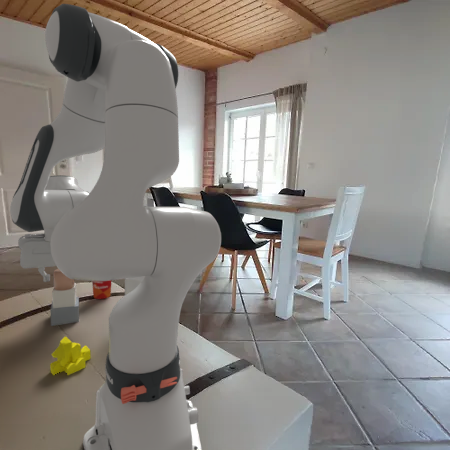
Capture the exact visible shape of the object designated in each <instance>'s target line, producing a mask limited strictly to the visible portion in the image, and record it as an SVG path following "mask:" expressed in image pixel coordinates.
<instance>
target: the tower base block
mask: <svg viewBox="0 0 450 450" xmlns="http://www.w3.org/2000/svg"><path fill="white" fill-rule="evenodd" d="M49 311H50V326H51V327H54V326H60V325H66V324H73V323H79V321H80V297H79V296H76V303H75V306H71V307H61V308H53V299H52V301H51V305H50V309H49Z"/></svg>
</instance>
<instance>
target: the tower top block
mask: <svg viewBox="0 0 450 450" xmlns="http://www.w3.org/2000/svg"><path fill="white" fill-rule="evenodd" d="M52 289H53V290H52V293H51V294H52V295H51V296H52V298H51V299H52V300H53V308H61V307H71V306H75V303H76V297H77V283H76V282H74V287H73V288H71V289H68V290H55V289H54V288H52Z"/></svg>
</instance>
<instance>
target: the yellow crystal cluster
mask: <svg viewBox="0 0 450 450" xmlns="http://www.w3.org/2000/svg"><path fill="white" fill-rule="evenodd" d="M91 353H92V352H91V349H90V348H89V347H88V346H87V345H84V346H83V347H82V346H81V344H80V343H79V342H74V341H73V342H72V341H71V339H69V338H68V337H67V336H66V335H65V336H64V337H63V338H62V339H61V340H60V341H59V344H58V346H57V347H56V348H55V350H53V352H52V353H51V356H52V357H53V358H54V359H56V360H54V361H53V362H51V363H50V364H49V366H50V367H49V368H50V373H51V374H52V376H55V374H56V375H58V374H59V372H60V373H62V372H64V373H67V374H66V375H67V376H71V375H72V374H74V373H76V372H79V371H81V370H83V369H85V368H86V362H87V361H89V360H91V358H92V357H91V356H92V355H91ZM57 373H58V374H57Z"/></svg>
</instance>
